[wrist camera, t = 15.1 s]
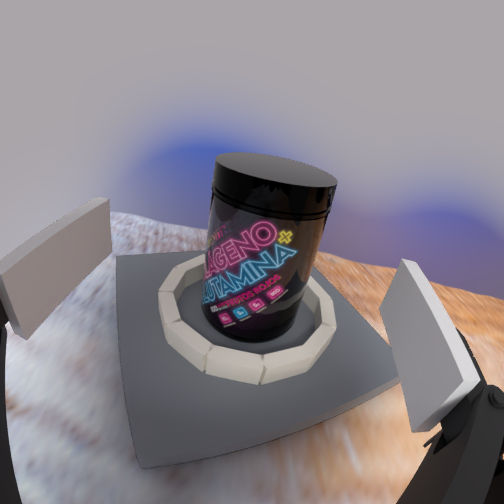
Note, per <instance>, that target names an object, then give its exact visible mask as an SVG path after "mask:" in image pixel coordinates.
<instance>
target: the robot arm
mask: <svg viewBox="0 0 504 504" xmlns="http://www.w3.org/2000/svg"><path fill="white" fill-rule="evenodd" d="M111 253H112V242H111V227H110V206H109V199H105V198H100V197H96V198H94V199H92V200H90V201H89V202H87V203H85V204H84V205H82V206H80V207H78V208H77V209H75V210H73V211H72V212H70V213H69V214H67V215H65V216H64V217H62V218H60V219H59V220H57V221H56V222H54V223H53V224H51V225H49V226H48V227H47V228H45V229H43V230H42V231H40V232H39V233H38V234H36V235H34V236H33V237H32V238H30V239H29V240H27V241H26V242H24V243H23V244H22V245H20V246H19V247H17V248H16V249H15V250H13V251H12V252H11V253H9V254H8V255H7V256H5V257H4V258H3V259H1V260H0V504H22V502H21V498H20V494H19V491H18V487H17V482H16V478H15V474H14V469H13V464H12V458H11V452H10V445H9V438H8V429H7V419H6V403H5V357H6V341H7V329H6V327H5V324H6V323H7V322H8V321H9V322H10V324H11V327H12V329H13V331H14V333H15V334H17V335H19V336H20V337H22V338H24V339H25V340H28V339H29V337H30V336H31V335H32V334H33V333H34V332H35V331H36V329H37V328H38V327H39V326H40V325H41V324H42V323H43V322H44V320H45V319H46V318H47V317H48V316H49V315H50V314H51V313H52V312H53V311H54V310H55V308H56V307H57V306H58V305H59V304H60V303H61V302H62V301H63V300H64V299H65V298H66V297H67V296H68V295H69V294H70V293H71V292H72V291H73V290H74V289H75V288H76V287H77V286H78V285H79V284H80V283H81V282H82V281H83V280H84V279H85V278H86V277H87V276H88V275H89V274H90V273H91V272H92V271H93V270H94V269H95V268H96V267H97V266H98V265H99V264H100V263H101V262H102V261H103V260H104V259H105V258H106V257H107V256H109V255H110V254H111ZM379 311H380V314H381V317H382V320H383V323H384V326H385V329H386V332H387V335H388V339H389V342H390V345H391V349H392V352H393V356H394V359H395V363H396V367H397V370H398V374H399V378H400V382H401V386H402V390H403V394H404V398H405V402H406V407H407V411H408V416H409V421H410V425H411V431H412V433H414V432H427V431H430V430H431V429H432V428H434V427H435V426H436V425H437V424H438V423H439V422H440V423H441V426H442V429H441V430H440V431H439V432H438V433H437V434H436V435H434V436H433V437H432V438H431V439H430V440H428V441H427V442H426V443H425V444H424V445H423V446H424V447H426V446H428V445H429V444H430V443H432V444H431V446H430V448H429V449H428V452H427V454H426V456H425V458H424V459H423V461H422V463H421V465H420V466H419V468H418V470H417V472H416V473H415V475H414V477H413V478H412V480H411V482H410V483H409V485H408V486H407V488H406V489H405V491H404V492H403V494H402V495H401V497H400V498H399V500H398V501H397V503H396V504H504V460H503V454H504V392H503V391H502V390H501V389H500V388H498V387H496V386H494V385H487V383H486V381H485V378H484V376H483V374H482V372H481V370H480V367H479V365H478V363H477V361H476V359H475V357H473V353H472V351H471V349H469V345H468V343H467V341H466V339H465V337H464V336H463V335H462V334H461V333H460V331H459V330H458V329H457V328H456V327H455V326H454V324H453V323H452V321H451V319H450V317H449V315H448V314H447V312H446V310H445V308H444V307H443V305H442V303H441V301H440V300H439V298H438V296H437V295H436V293H435V291H434V290H433V288H432V286H431V285H430V283H429V282H428V280H427V278H426V277H425V275H424V274H423V272H422V271H421V269H420V268H419V266H418V265H417V263H416V262H413V261H409V260H405V259H402V260H401V262H400V264H399V267H398V269H397V271H396V274H395V276H394V278H393V280H392V282H391V285H390V287H389V289H388V291H387V293H386V295H385V297H384V300H383V302H382V304H381V306H380V308H379Z"/></svg>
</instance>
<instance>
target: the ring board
mask: <svg viewBox="0 0 504 504" xmlns="http://www.w3.org/2000/svg"><path fill="white" fill-rule="evenodd" d="M205 252H206V250H205V251H189V252H172V253H156V254H140V255H124V256H116V303H117V325H118V340H119V352H120V362H121V371H122V380H123V387H124V394H125V401H126V407H127V413H128V419H129V424H130V430H131V435H132V439H133V444H134V449H135V453H136V457H137V461H138V462H139V464H140V466H141V467H142V468H151V467H159V466H166V465H173V464H179V463H185V462H190V461H196V460H201V459H205V458H210V457H214V456H219V455H223V454H227V453H231V452H235V451H238V450H242V449H246V448H249V447H253V446H256V445H259V444H262V443H266V442H269V441H272V440H275V439H278V438H281V437H284V436H286V435H289V434H292V433H295V432H297V431H300V430H303V429H305V428H308V427H310V426H313V425H315V424H318V423H320V422H322V421H325V420H327V419H329V418H332V417H334V416H336V415H338V414H340V413H343V412H345V411H347V410H349V409H351V408H353V407H355V406H357V405H359V404H361V403H363V402H365V401H367V400H369V399H371V398H373V397H375V396H377V395H379V394H380V393H382V392H384V391H386V390H388V389H389V388H391V387H393V386H395V385H396V384H398V383H400V378H399V374H398V370H397V367H396V363H395V359H394V356H393V352H392V349H391V347H390V346H389V345H388V344H387V342H386V341H385V340H384V339H383V338H382V337H381V336H380V335H379V334H378V333H377V332H376V331H375V329H374V328H373V327H372V326H371V325H370V324H369V323H368V322H367V321H366V320H365V319H364V318H363V317H362V316H361V315H360V313H359V312H358V311H357V310H356V309H355V308H354V307H353V306H352V305H351V304H350V303H349V302H348V301H347V300H346V299H345V298H344V297H343V296H342V295H341V294H340V292H339V291H338V290H337V289H336V288H335V287H334V286H333V285H332V284H331V283H330V282H329V281H328V280H327V279H326V278H325V277H324V276H323V275H322V274H321V273H320V272H319V271H318V270H317V269H316V268H315V267H314V266H313V267H312V271H311V274H310V277H309V280H308V283H307V286H306V289H305V292H304V295H303V298H302V301H301V304H300V307H299V310H298V313H297V316H296V319H295V322H294V324H293V326H292V327H291V329H290V330H289V331H288V332H287V333H285V334H284V335H283V336H281V337H280V338H278V339H275V340H273V341H270V342H266V343H257V344H250V343H243V342H238V341H235V340H232V339H230V338H227V337H225V336H224V335H222V334H220V333H219V332H217V331H216V330H215V329H214V328H213V327H212V326H211V325H210V324H209V323H208V321H207V320H206V318H205V316H204V314H203V311H202V307H201V298H202V286H203V274H204V263H205Z"/></svg>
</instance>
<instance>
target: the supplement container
mask: <svg viewBox="0 0 504 504" xmlns="http://www.w3.org/2000/svg"><path fill="white" fill-rule="evenodd" d="M336 186H337V180H336V178H334V177H333V176H332V175H330V174H328V173H327V172H325V171H323V170H320V169H318V168H316V167H313V166H311V165H308V164H305V163H302V162H298V161H294V160H291V159H286V158H282V157H277V156H271V155H265V154H256V153H243V152H235V153H225V154H221V155H218V156H217V157H216V160H215V168H214V176H213V182H212V196H211V205H210V213H209V223H208V232H207V242H206V252H205V263H204V274H203V286H202V298H201V307H202V311H203V314H204V316H205V318H206V320H207V321H208V323H209V324H210V325H211V326H212V327H213V328H214V329H215V330H216V331H217V332H219V333H220V334H222V335H224V336H225V337H227V338H230V339H232V340H235V341H238V342H243V343H250V344H257V343H266V342H270V341H273V340H275V339H278V338H280V337H281V336H283V335H284V334H285V333H287V332H288V331H289V330H290V329H291V327H292V326H293V324H294V322H295V319H296V316H297V313H298V310H299V307H300V304H301V301H302V298H303V295H304V292H305V289H306V286H307V283H308V280H309V277H310V274H311V271H312V267H313V264H314V261H315V258H316V255H317V251H318V248H319V245H320V241H321V238H322V234H323V231H324V228H325V224H326V221H327V217H328V214H329V213H330V211H331V207H332V206H331V205H332V201H333V197H334V194H335V190H336Z"/></svg>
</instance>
